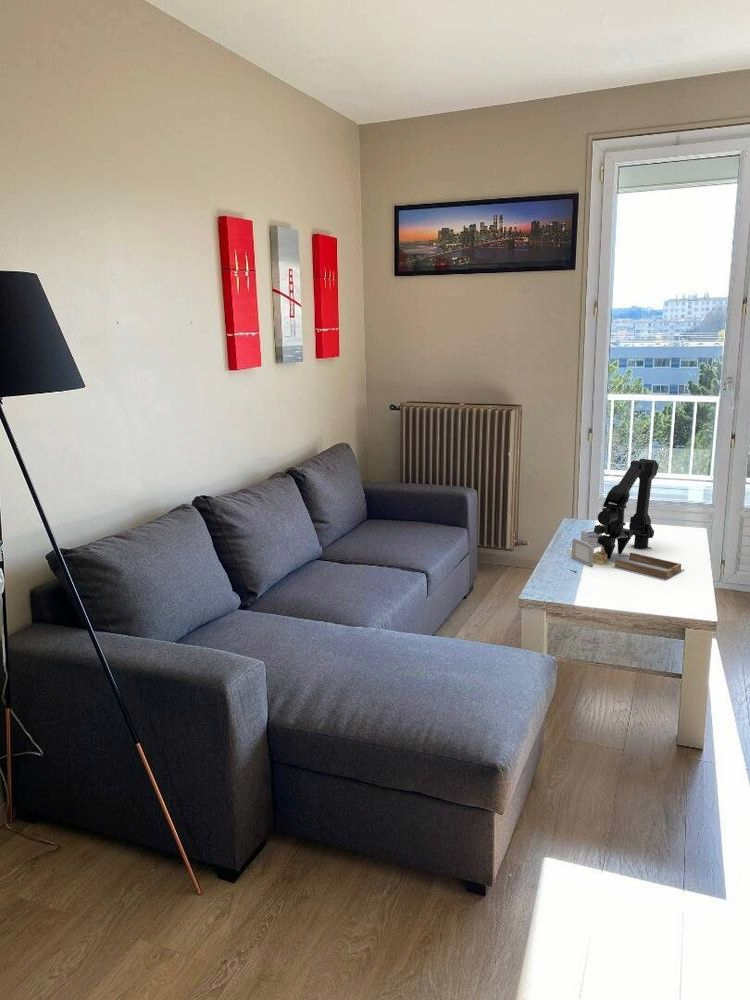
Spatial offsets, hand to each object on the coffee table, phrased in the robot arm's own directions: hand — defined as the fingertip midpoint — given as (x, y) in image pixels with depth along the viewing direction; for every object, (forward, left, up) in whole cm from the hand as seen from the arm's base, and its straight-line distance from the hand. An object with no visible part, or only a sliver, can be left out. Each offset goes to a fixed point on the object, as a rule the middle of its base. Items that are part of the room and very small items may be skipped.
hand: (614, 556), depth 311 cm
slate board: (+1, +9, -2) cm, 9 cm away
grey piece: (+15, -9, -3) cm, 18 cm away
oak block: (+8, -2, -1) cm, 8 cm away
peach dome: (-4, -6, -1) cm, 7 cm away
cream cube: (+6, -15, -3) cm, 16 cm away
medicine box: (-9, -16, -3) cm, 19 cm away
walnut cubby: (+2, +16, -1) cm, 16 cm away
